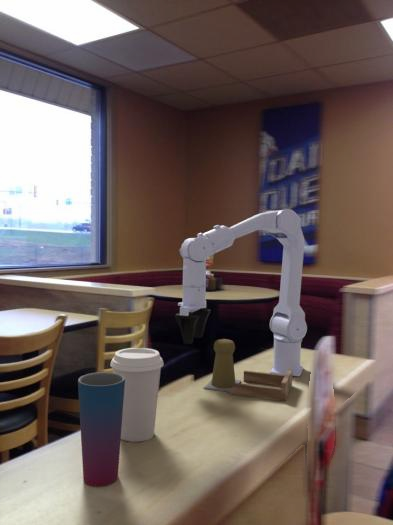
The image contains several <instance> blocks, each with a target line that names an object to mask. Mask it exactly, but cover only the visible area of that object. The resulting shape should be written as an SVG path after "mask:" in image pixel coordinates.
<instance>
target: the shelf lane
mask: <svg viewBox="0 0 393 525" xmlns="http://www.w3.org/2000/svg"><path fill="white" fill-rule="evenodd" d="M243 382H248V383H241V382H240V383H233V392H232V395H233V396H240V397H241V396H242V397H248V398H249V397H250V398H256V399H264V400H271V399H275V400H274V401H279V400H281V401H280V402H286V400H287V398H288V395H289V394H290V391H291V389H292V387H293V376H292V370H290V369H288V371H287V373H286V375H281V374H272V373H270V372H262V371H261V372H260V371H255V370H253V371H251V370H243ZM249 383H255V384H256V383H257V384H263V385H257V384H256V385H255V384H249ZM264 384H265V386H264ZM266 385H272V386H266ZM273 386H280V387H273Z"/></svg>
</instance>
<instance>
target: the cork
mask: <svg viewBox="0 0 393 525" xmlns="http://www.w3.org/2000/svg"><path fill="white" fill-rule="evenodd" d="M235 350H236V345H235V342H234V341H233V340H231V339H228V338H227V339H226V338H221V339H217V340H215V341H214V343H213V351H214V352H215V355H214V356H215V357H214V363H213V371H212V374H211V375H212V376H211V380H212V382H211V385H212V386H214V387H218V388H232V387H233V383H236V382H235V380H236V376H235V375H236V373H235V364H234V355H233V354H234V352H235Z"/></svg>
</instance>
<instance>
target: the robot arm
mask: <svg viewBox="0 0 393 525" xmlns="http://www.w3.org/2000/svg"><path fill="white" fill-rule="evenodd" d="M301 226H302V218H301V217H300V216H299V215H298V214H297V213H296V211H294V210H293V209H291V208H285V209H278V210H267V211H265V212H260V213H258V214H255V215H253V216H251V217H248V218H246V219H245V220H243V221H241V222H237V223H236V224H233V225H232V226H230V227H228V226H226V225H223V224H222V225H220V224H216V225H214V226H212V227H213V229H210V230H209V231H206V232H199V233H197V234H196V237H189V238H186V239H184V241H183V242H182V244H181V246H180V248H179V253H180V256H181V257H182V260H183V261H182V262H183V263H182V264H183V267H182V301H181V302H178V303H177V306H179V313H178V312H177V313H176V314H175V315H174V317H175V320H176V322H177V324H178V326H179V329H180V333H181V338H182V341H183V344H187V345H191V344H193V343H194V338H200V339H201V338H203V336H204V332H205V327H206V324H207V320H208V317H209V316H210V314H211V310H212V309H210V308H209V309H208V308H207V300H206V286H207V285H206V282H207V281H206V280H207V278H206V276H207V260H208V259H209V257H210V256H212V255H214V254H217V253H218V252H222V251H223V250H225V249H227V248H230V247H232V246H233V244H234V241H235V240H236V239H238V238H241V237H244V236H246V235H248V234H251V233H254V232H256V231H264V232H265V233H266V234H268V235H270V236H272V237H273V238H275V239H277V240H278V241H279V243H280V244H282V246H283V250H282V262H281V271H280V272H281V275H280V288H279V298H278V299H279V300H278V303H277V305H276V306H275V307H273V313H272V316H271V318H270V320H269V329H270V331H271V332H272V333H273V362H272V363H273V364H272V368H271V369H270V370H269V373H272V374H281V375H286V373H287V371H288V369H290V370H292V377H300V376H301V375H302V372H303V369H304V366H303V365H301V355H302V354H301V351H302V350H301V349H302V342H303V338H305V336H306V334H307V331H308V324H307V322H306V313H305V311H304V310H303V308H302V306H300V302H301V289H302V278H303V276H302V275H303V264H304V252H305V236H304V234H303V230H302V227H301Z"/></svg>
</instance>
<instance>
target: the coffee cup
mask: <svg viewBox="0 0 393 525" xmlns="http://www.w3.org/2000/svg"><path fill="white" fill-rule="evenodd" d="M164 365H165V364H164V360H163V358H162V357H161V355H160V352H159V351H158V350H156V349H153V348H147V347H130V348H123V349H119V350H117V351H115V353H114V356H113V357H112V359H111V361H110V367H111V368H112V371H113V372H112V373H118V374H121V375H123V376H124V377H125V388H124V401H123V414H122V428H121V440H122V441H126V442H129V443H139V442H145V441H148V440H150V439H152V438H153V437H154V435H155V428H156V420H157V418H156V417H157V407H158V398H159V387H160V378H161V369H162V367H164Z"/></svg>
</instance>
